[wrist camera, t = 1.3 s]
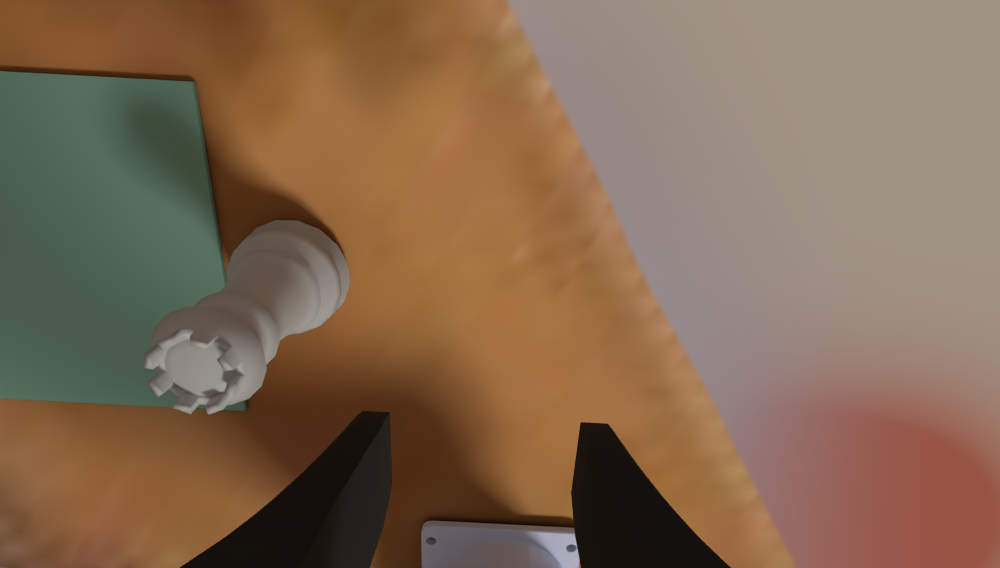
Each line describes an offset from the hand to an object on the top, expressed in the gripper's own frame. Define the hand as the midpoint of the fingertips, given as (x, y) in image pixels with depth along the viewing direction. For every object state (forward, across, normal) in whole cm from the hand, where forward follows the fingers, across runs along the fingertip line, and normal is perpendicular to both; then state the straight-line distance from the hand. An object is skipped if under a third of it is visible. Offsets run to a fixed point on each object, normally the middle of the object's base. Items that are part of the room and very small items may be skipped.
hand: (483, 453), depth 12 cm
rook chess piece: (+11, +8, 0) cm, 13 cm away
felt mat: (+10, +17, 0) cm, 20 cm away
